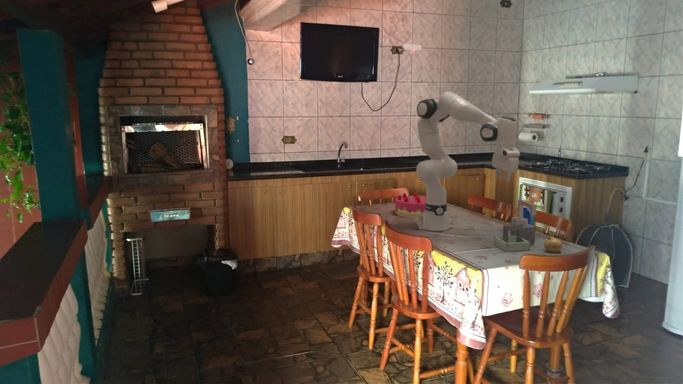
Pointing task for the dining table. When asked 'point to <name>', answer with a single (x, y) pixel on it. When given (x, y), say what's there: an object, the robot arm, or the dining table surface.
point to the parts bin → (511, 244)
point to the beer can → (528, 216)
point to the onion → (553, 245)
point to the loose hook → (512, 228)
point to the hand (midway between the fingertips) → (503, 178)
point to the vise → (524, 230)
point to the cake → (410, 205)
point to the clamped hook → (527, 204)
